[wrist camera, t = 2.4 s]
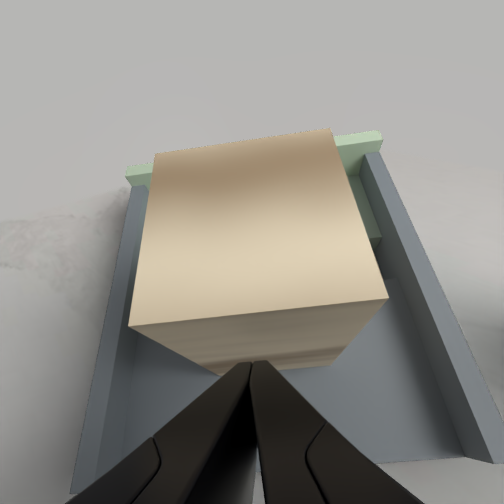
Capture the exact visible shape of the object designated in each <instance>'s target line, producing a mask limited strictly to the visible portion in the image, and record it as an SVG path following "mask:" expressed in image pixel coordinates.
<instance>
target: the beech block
mask: <svg viewBox="0 0 504 504" xmlns="http://www.w3.org/2000/svg"><path fill="white" fill-rule="evenodd" d="M388 299H389V296H388V293H387V291H386V288H385V285H384V282H383V279H382V276H381V273H380V270H379V268H378V265H377V262H376V259H375V256H374V253H373V250H372V247H371V244H370V242H369V239H368V236H367V233H366V230H365V227H364V224H363V221H362V219H361V216H360V213H359V210H358V207H357V204H356V201H355V198H354V195H353V193H352V190H351V187H350V184H349V181H348V178H347V175H346V172H345V170H344V167H343V164H342V161H341V158H340V155H339V152H338V149H337V146H336V144H335V141H334V138H333V135H332V132H331V129H330V128H328V129H321V130H314V131H307V132H300V133H294V134H287V135H280V136H273V137H266V138H259V139H252V140H246V141H239V142H232V143H225V144H218V145H212V146H205V147H198V148H191V149H184V150H178V151H171V152H164V153H157V154H155V158H154V164H153V171H152V177H151V183H150V190H149V196H148V203H147V209H146V215H145V222H144V228H143V234H142V241H141V247H140V254H139V260H138V266H137V273H136V279H135V285H134V292H133V298H132V305H131V311H130V317H129V324H128V327H130V328H132V329H134V330H136V331H138V332H139V333H141V334H143V335H145V336H147V337H149V338H150V339H152V340H154V341H156V342H158V343H160V344H162V345H163V346H165V347H167V348H169V349H171V350H173V351H174V352H176V353H178V354H180V355H182V356H184V357H186V358H187V359H189V360H191V361H193V362H195V363H197V364H198V365H200V366H202V367H204V368H206V369H208V370H210V371H211V372H213V373H215V374H217V375H219V376H223V375H224V374H225V373H226V372H228V371H229V370H230V369H231V368H232V367H234V366H235V365H236V364H237V363H239V362H248V361H250V362H252V363H253V362H254V361H259V360H267V361H269V362H270V363H271V364H272V365H273V366H274V367H275V368H276V369H277V370H287V369H298V368H308V367H319V366H329V365H331V364H332V363H333V362H334V361H335V360H336V358H337V357H338V356H339V355H340V354H341V353H342V352H343V350H344V349H345V348H346V347H347V346H348V345H349V344H350V342H351V341H352V340H353V339H354V338H355V337H356V335H357V334H358V333H359V332H360V331H361V330H362V329H363V327H364V326H365V325H366V324H367V323H368V322H369V321H370V319H371V318H372V317H373V316H374V315H375V314H376V312H377V311H378V310H379V309H380V308H381V307H382V306H383V304H384V303H385V302H386V301H387V300H388Z"/></svg>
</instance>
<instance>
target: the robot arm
mask: <svg viewBox="0 0 504 504" xmlns="http://www.w3.org/2000/svg"><path fill="white" fill-rule="evenodd" d="M257 449H258V454H259V462H260V469H261V476H262V483H263V490H264V498H265V504H424V503H423V502H422V501H420V500H419V499H418V498H417V497H415V496H414V495H413V494H412V493H410V492H409V491H408V490H407V489H405V488H404V487H403V486H402V485H400V484H399V483H398V482H397V481H395V480H394V479H393V478H392V477H390V476H389V475H388V474H387V473H385V472H384V471H383V470H382V469H381V468H379V467H378V466H377V465H376V464H375V463H373V462H372V461H371V460H370V459H369V458H367V457H366V456H365V455H364V454H363V453H361V452H360V451H359V450H358V449H357V448H356V447H355V446H354V445H353V444H352V443H350V442H349V441H348V440H347V439H346V438H345V437H344V436H343V435H342V434H341V433H340V432H339V431H338V430H337V429H336V428H335V427H334V426H333V425H332V424H331V423H330V422H328V421H327V420H326V419H325V418H324V417H323V416H322V415H321V414H320V413H319V412H318V411H317V410H316V409H315V408H314V407H313V406H312V405H311V404H310V403H309V402H308V401H307V400H306V399H305V398H304V397H303V396H302V395H301V394H300V393H299V392H298V391H297V390H296V389H295V388H294V387H293V386H292V385H291V384H290V383H289V382H288V381H287V380H286V379H285V378H284V376H283V375H282V374H281V373H280V372H279V371H278V370H277V369H276V368H275V367H274V366H273V365H272V364H271V363H270V362H269V361H267V360H259V361H254V362H253V363H252V362H250V361H248V362H239V363H237V364H236V365H235V366H234V367H232V368H231V369H230V370H229V371H228V372H226V373H225V374H224V375H223V376H222V377H221V378H219V379H218V380H217V381H216V382H215V383H214V384H212V385H211V386H210V387H209V388H208V389H206V390H205V391H204V392H203V393H202V394H201V395H199V396H198V397H197V398H196V399H195V400H194V401H192V402H191V403H190V404H189V405H188V406H186V407H185V408H184V409H183V410H182V411H181V412H179V413H178V414H177V415H176V416H175V417H174V418H172V419H171V420H170V421H169V422H168V423H166V424H165V425H164V426H163V427H162V428H161V429H159V430H158V431H157V432H156V433H155V434H154V435H153V438H152V437H149V438H148V439H147V440H145V441H144V442H143V443H142V444H141V445H140V446H138V447H137V448H136V449H135V450H134V451H132V452H131V453H130V454H129V455H127V456H126V457H125V458H124V459H123V460H121V461H120V462H119V463H118V464H116V465H115V466H114V467H113V468H111V469H110V470H109V471H108V472H106V473H105V474H104V475H102V476H101V477H100V478H98V479H97V480H96V481H94V482H93V483H92V484H90V485H89V486H88V487H87V488H85V489H84V490H83V491H81V492H80V493H79V494H77V495H76V496H75V497H73V498H72V499H70V500H69V501H68V502H66V503H65V504H252V499H253V489H254V480H255V470H256V461H257Z"/></svg>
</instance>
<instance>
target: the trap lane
mask: <svg viewBox="0 0 504 504" xmlns="http://www.w3.org/2000/svg"><path fill="white" fill-rule="evenodd" d="M333 138H334V141H335V144H336V146H337V149H338V152H339V155H340V158H341V161H342V164H343V167H344V170H345V172H346V175H347V178H348V181H349V184H350V187H351V190H352V193H353V195H354V198H355V201H356V204H357V207H358V210H359V213H360V216H361V219H362V221H363V224H364V227H365V230H366V233H367V236H368V239H369V242H370V244H371V247H372V250H373V252H374V254H375V256H376V259H377V262H378V265H379V268H380V271H381V274H382V276H383V279H384V280H383V282H384V285H385V288H386V291H387V293H388V296H389V299H388V300H387V301H386V302H385V303H384V304H383V306H382V307H381V308H380V309H379V310H378V311H377V312H376V314H375V315H374V316H373V317H372V318H371V319H370V321H369V322H368V323H367V324H366V325H365V326H364V327H363V329H362V330H361V331H360V332H359V333H358V334H357V335H356V337H355V338H354V339H353V340H352V341H351V342H350V344H349V345H348V346H347V347H346V348H345V349H344V350H343V352H342V353H341V354H340V355H339V356H338V357H337V358H336V360H335V361H334V362H333V363H332V364H331V365H329V366H319V367H308V368H298V369H287V370H278V371H279V372H280V373H281V374H282V375H283V376H284V378H285V379H286V380H287V381H288V382H289V383H290V384H291V385H292V386H293V387H294V388H295V389H296V390H297V391H298V392H299V393H300V394H301V395H302V396H303V397H304V398H305V399H306V400H307V401H308V402H309V403H310V404H311V405H312V406H313V407H314V408H315V409H316V410H317V411H318V412H319V413H320V414H321V415H322V416H323V417H324V418H325V419H326V420H327V421H328V422H330V423H331V424H332V425H333V426H334V427H335V428H336V429H337V430H338V431H339V432H340V433H341V434H342V435H343V436H344V437H345V438H346V439H347V440H348V441H349V442H350V443H352V444H353V445H354V446H355V447H356V448H357V449H358V450H359V451H360V452H361V453H363V454H364V455H365V456H366V457H367V458H369V459H370V460H371V461H372V462H373V463H375V464H376V463H390V462H403V461H417V460H431V459H444V458H458V457H468V458H472V459H476V460H480V461H484V462H488V463H492V464H502V463H504V422H503V420H502V418H501V416H500V414H499V411H498V409H497V407H496V405H495V403H494V400H493V398H492V396H491V394H490V392H489V390H488V387H487V385H486V383H485V381H484V379H483V377H482V374H481V372H480V370H479V368H478V366H477V363H476V361H475V359H474V357H473V355H472V353H471V350H470V348H469V346H468V344H467V342H466V340H465V337H464V335H463V333H462V331H461V329H460V326H459V324H458V322H457V320H456V318H455V316H454V313H453V311H452V309H451V307H450V305H449V303H448V300H447V298H446V296H445V294H444V292H443V290H442V287H441V285H440V283H439V281H438V279H437V276H436V274H435V272H434V270H433V268H432V266H431V263H430V261H429V259H428V257H427V255H426V253H425V250H424V248H423V246H422V244H421V242H420V239H419V237H418V235H417V233H416V231H415V229H414V226H413V224H412V222H411V220H410V218H409V216H408V213H407V211H406V209H405V207H404V205H403V202H402V200H401V198H400V196H399V194H398V192H397V189H396V187H395V185H394V183H393V181H392V179H391V176H390V174H389V172H388V170H387V168H386V165H385V163H384V161H383V159H382V157H381V155H380V152H379V151H380V148H381V145H382V142H383V138H382V136H381V134H380V132H379V130H376V131H369V132H362V133H355V134H348V135H342V136H334V137H333ZM153 164H154V163H149V164H142V165H135V166H128V167H127V170H126V175H125V177H126V179H127V180H128V181H129V183H130V184H131V186H132V188H131V193H130V198H129V203H128V208H127V213H126V218H125V222H124V227H123V232H122V237H121V242H120V247H119V252H118V257H117V262H116V267H115V272H114V277H113V282H112V287H111V292H110V296H109V301H108V306H107V311H106V316H105V321H104V326H103V331H102V336H101V341H100V346H99V351H98V356H97V361H96V366H95V370H94V375H93V380H92V385H91V390H90V395H89V400H88V405H87V410H86V415H85V420H84V425H83V430H82V435H81V440H80V444H79V449H78V454H77V459H76V464H75V469H74V474H73V479H72V484H71V489H70V494H79V493H80V492H81V491H83V490H84V489H85V488H87V487H88V486H89V485H90V484H92V483H93V482H94V481H96V480H97V479H98V478H100V477H101V476H102V475H104V474H105V473H106V472H108V471H109V470H110V469H111V468H113V467H114V466H115V465H116V464H118V463H119V462H120V461H121V460H123V459H124V458H125V457H126V456H127V455H129V454H130V453H131V452H132V451H134V450H135V449H136V448H137V447H138V446H140V445H141V444H142V443H143V442H144V441H145V440H147V439H148V438H149V437H152V438H153V435H154V434H155V433H156V432H157V431H158V430H159V429H161V428H162V427H163V426H164V425H165V424H166V423H168V422H169V421H170V420H171V419H172V418H174V417H175V416H176V415H177V414H178V413H179V412H181V411H182V410H183V409H184V408H185V407H186V406H188V405H189V404H190V403H191V402H192V401H194V400H195V399H196V398H197V397H198V396H199V395H201V394H202V393H203V392H204V391H205V390H206V389H208V388H209V387H210V386H211V385H212V384H214V383H215V382H216V381H217V380H218V379H219V378H221V377H222V376H219V375H217V374H215V373H213V372H211V371H210V370H208V369H206V368H204V367H202V366H200V365H198V364H197V363H195V362H193V361H191V360H189V359H187V358H186V357H184V356H182V355H180V354H178V353H176V352H174V351H173V350H171V349H169V348H167V347H165V346H163V345H162V344H160V343H158V342H156V341H154V340H152V339H150V338H149V337H147V336H145V335H143V334H141V333H139V332H138V331H136V330H134V329H132V328H130V327H128V324H129V317H130V311H131V305H132V298H133V292H134V285H135V279H136V273H137V266H138V260H139V254H140V247H141V241H142V234H143V228H144V222H145V215H146V209H147V203H148V196H149V190H150V183H151V177H152V171H153ZM255 472H261V469H260V462H259V454H258V449H257V461H256V470H255Z"/></svg>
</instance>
